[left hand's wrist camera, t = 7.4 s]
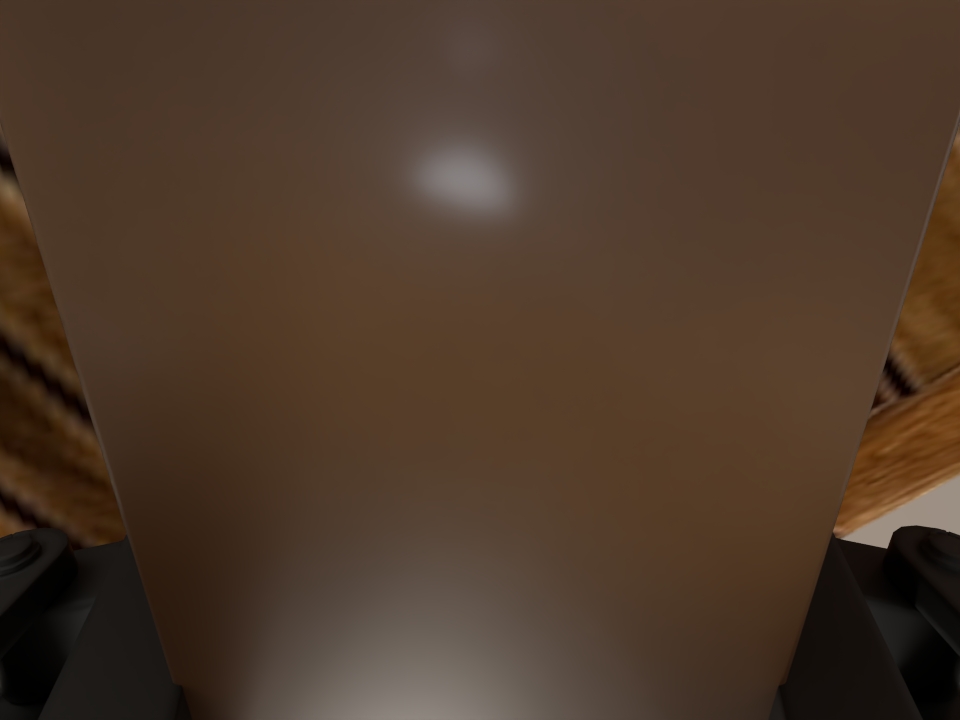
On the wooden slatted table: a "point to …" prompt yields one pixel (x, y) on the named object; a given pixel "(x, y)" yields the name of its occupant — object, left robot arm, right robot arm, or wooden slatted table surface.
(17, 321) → the wooden slatted table surface
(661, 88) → the box
